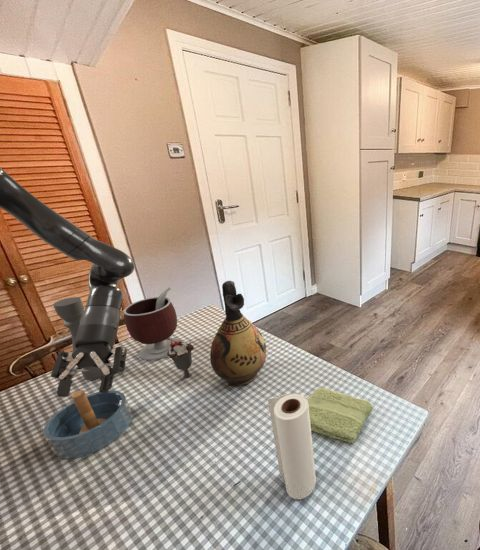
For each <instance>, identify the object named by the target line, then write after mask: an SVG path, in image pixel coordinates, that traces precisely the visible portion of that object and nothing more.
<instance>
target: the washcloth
mask: <svg viewBox="0 0 480 550" xmlns="http://www.w3.org/2000/svg"><path fill="white" fill-rule="evenodd" d="M306 399H307V401H308V405H309V415H310V425H311V432H315V433H317V434H319V435H323V436H326V437H328V438H329V437H330V438H332V439H336V440H339V441H342V442H347V443H349V444H351V443H356V442H357V440H358V438H359V434H360V433H361V431H362V429H363V427H364V423H365V421H366V420H367V419H368V418H369V416H370V414H371V413H372V411H373V410H374V405H373V404H372V403H371V402H370V401H369V400H367V399H363V398H359V397H358V398H357V397H354V396H352V395H349V394H346V393H342V392H338V391H335V390H333V389H330V388H327V387H318V388H316V389H315V390H314V391H313V392H312V393H311V395H309V396H308V398H306Z"/></svg>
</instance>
